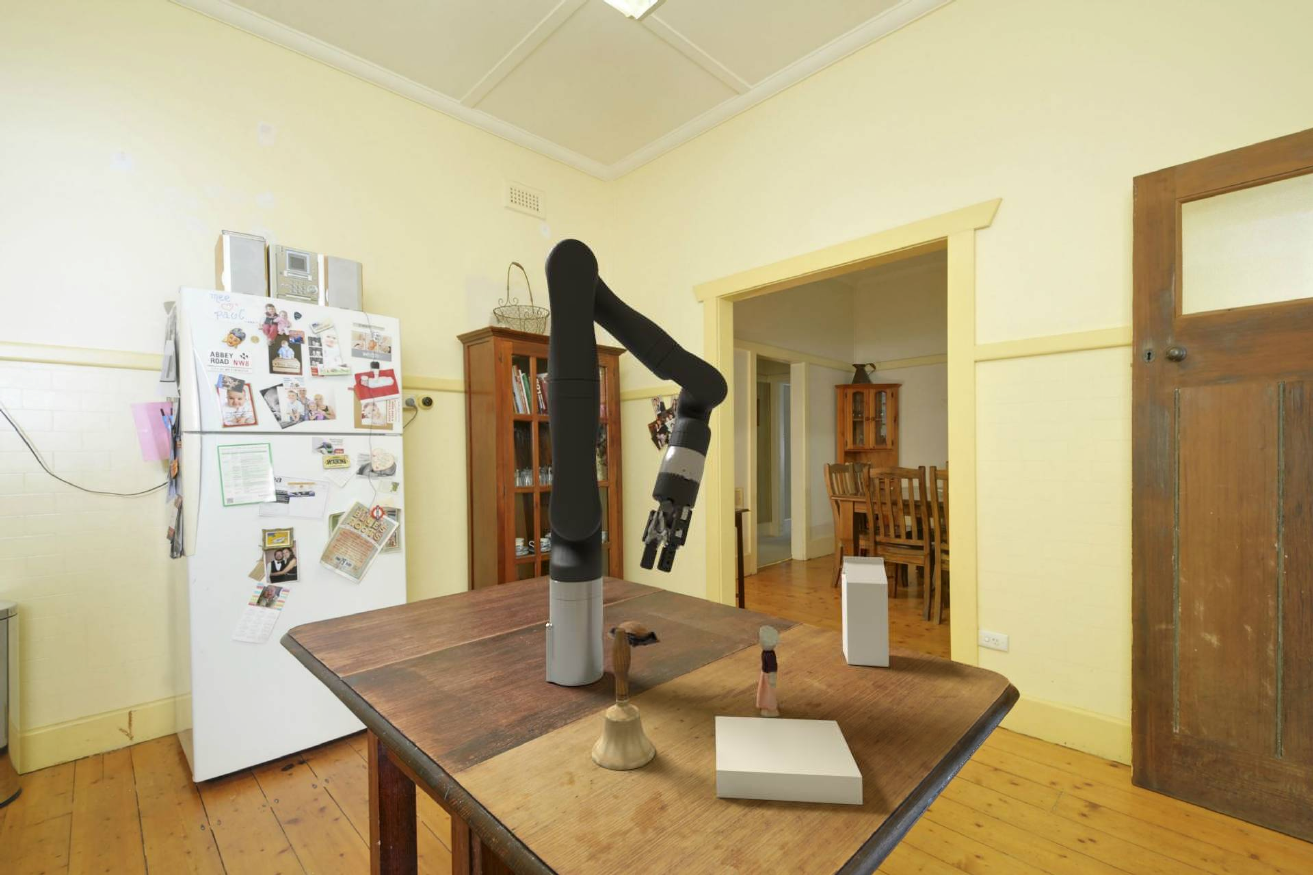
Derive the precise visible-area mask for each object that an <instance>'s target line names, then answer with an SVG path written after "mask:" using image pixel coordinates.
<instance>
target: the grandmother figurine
mask: <svg viewBox="0 0 1313 875" xmlns="http://www.w3.org/2000/svg"><path fill="white" fill-rule="evenodd" d="M758 634H759V640H758V643H759V646H760V648H761V649H762V651H761V654H760V656H761V657H760V658H761V671H760V677H759V681H758V682H759V683H758V688H757V694H756V703H755V706H756V708H758V709H761V710H760V715H761V716H762V717H763V718H775V717H776V718H777V717H779V716H780V712H779V710H778V705H777V704H778V702H777V697H776V696H777V695H776V688H777V681H778V679H777V678H778V670H779V669H778V667H779V666H778V661H777V660H778V659H777V655H776V652H775V648H776V646H777V645H780V644H781V643H782V637H781V636H780V634H779V633H778V630H776V629H775V628H774V627H771V625H763V626H761V627H760V629H759V632H758Z"/></svg>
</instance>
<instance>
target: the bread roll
mask: <svg viewBox="0 0 1313 875" xmlns="http://www.w3.org/2000/svg"><path fill="white" fill-rule="evenodd" d="M617 628H624V629H625V631H626V635H627V638H628V640H629V644H630V647H632V648H635V647H636V648H637V647H641V646H646V645H651V644H655V643H657V642H659V639H658V635H656V633H655V632H654V631H651V630H650V629H649V628H648V627H647V626H646V625H645V624H644V623H642V622H640V621H637V620H630V621H626V622H622V623H620V624H619V625H618V627H613V628H611V629H610V632H607V633H606V634H605V635H606V636H607V637H609V638H610V639H612V640H613V639H614V636H615V630H616V629H617Z"/></svg>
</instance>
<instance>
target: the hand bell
mask: <svg viewBox="0 0 1313 875" xmlns="http://www.w3.org/2000/svg"><path fill="white" fill-rule="evenodd" d="M616 628H617V629H616V630H615V636H614V639H612V643H611V647H610V648H611V649H610V650H611V651H610V657H611V658H610V659H611V665H612V669H613V672H614V677H615V704H614V705H612V706H610V707H608V708H607V709H606V712H605V718H604V724H603V729H602V733H601V735H600V738H599V739H598V740H597V741H596V742H595V743H594V745H593V746H592V749H591V751H590V754H591V759H592V761H593V762H594V763H595V764H596V765H598V766H600V767H602V768H604V769H607V770H612V771H628V770H634V769H636V768H641V767H642V766H645V765H646V764H648V763H649V762H650V761H651V760H652V759H654V758H655V754H656V748H655V745H654V744H653V742H652V740H651V739H650V738H648V737H647V735H646V733H645V732H644V731H645V730H644V728H643V725H642V719H641V713H640V712H641V711H640V710H639V708H638V707H637V706H636V705H633V704H631V703H630V697H629V696H630V695H629V683H628V677H629V676H628V675H629V672H630V668H631V661H632V659H631V658H632V657H631V656H632V651H631V646H630V644H629V640H628V638H627V635H626V631H625V629H624V628H619V627H616Z"/></svg>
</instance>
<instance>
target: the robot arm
mask: <svg viewBox="0 0 1313 875" xmlns="http://www.w3.org/2000/svg"><path fill="white" fill-rule="evenodd" d="M597 259H598V258H596V255H595V253H594V252H593V250H592V249H591V247H589V245H587V244H586V243H584V242H583V241H581V240H579V239H575V238H565V239H563V240H560V241H558V242H556V244H554V245H553V246H552V247H551V249H550V250H549V251H548V254H547V256H546V259H545V261H544V274H545V277H546V283H547V291H548V300H549V312H550V329H549V330H550V331H549V340H548V349H547V350H548V352H547V374H546V376H547V379H546V384H547V385H546V386H547V387H546V389H547V390H546V392H547V393H546V394H547V395H546V396H547V399H546V400H547V415H548V427H549V436H550V443H551V449H552V472H551V473H552V476H551V490H550V498H549V506H548V513H547V514H548V515H547V516H548V520H549V524H550V553H549V556H550V557H549V622H548V623H547V624H546V625H545V626H546V627H545V639H546V640H545V646H546V647H545V654H546V655H545V665H546V666H545V667H546V668H545V674H546V676H545V681H546V682H552V683H555V684H557V685H561V686H569V687H570V686H571V687H574V686H575V687H577V686H583V685H584V686H586V685H589V684H592V683H596V682H597V681H599V680H601V678H602V677H603V676H604V602H603V601H604V594H603V593H604V592H603V591H604V588H603V586H604V584H603V581H604V580H603V574H604V573H603V572H604V570H603V569H604V566H603V564H604V560H603V557H604V556H603V514H604V513H603V504H602V501H601V495H600V487H599V480H598V478H599V477H598V468H597V467H598V466H597V452H598V451H597V449H598V440H599V434H600V433H599V432H600V422H601V408H602V406H601V403H602V402H601V400H602V398H601V394H602V393H601V372H600V360H599V351H598V344H597V337H596V330H595V323H596V324H597V325H599V326H600V327H601V328H602V329H604V330H605V331H606V332H607V333H608V334H610V336H612V337H613V338H614V339H615V340H616V341H617V342H618V343H619V344H621V346H622V347H624V348H625V349H626V350H627V351H628V352H629V353H631V355H633V357H635V358H636V359H637V361H639V362H640V363H641V364H642V365H643V366H645V367H646V369H647V370H649V372H651V373H652V374H653V375H654V376H656V377H657V378H658V379H660V380H661V381H672V382H674V383H675V384H677V385H678V386H680V387H681V388H680V391H679V394H678V397H677V401H676V405H675V413H674V414H675V415H674V424H673V427H672V430H671V433H670V436H669V441H668V444H667V446H666V451H665V453H664V455H663V458H662V459H661V463H660V466H659V470H658V473H657V476H656V481H655V483H654V487H653V491H652V494H651V497H652V498H653V500H654V501H655V502H658V503H659V506H658V508H657V510H655V509H651V510H650V511H649V515H648V518H647V522H646V525H645V528H644V532H643V534H642V538H641V542H643V545H644V550H643V552H642V556H641V559H640V564H639V566H640V568H642V569H645V570H648V571H651V570H653V569H654V565H655V561H656V558H657V555H658V550H659V548H660V546H661V544H662V542H663V544H662V545H663V546H662V548H661V551H660V554H659V558H658V562H657V566H656V569H657V570H658V571H661V572H663V573H666V574H667V573H670V572H671V571H672V569H673V568H672V567H673V565H674V561H675V557H676V553H677V551H678V550H679V549H680V547H684V546H685V544H686V541H687V538H688V537H687V536H688V533H689V529H690V525H691V521H692V517H693V509H694V508H695V506H696V502H697V499H698V494H699V491H700V487H701V483H702V480H703V476H704V472H705V471H704V470H705V463H706V459H707V454H708V450H709V447H710V444H711V438H712V430H711V427H710V426H709V425H710V419H711V415H712V412H713V410H714V409H715V408H716V407H718V406H719V405H721V404H722V403H723V402H724V401H725V400H726V398H727V396H728V391H729V386H728V383H727V381H726V378H725V376H723V374H722V373H721V372H720V371H719V369H717V368H716V367H715V366H713V365H712V364H711V363H709V362H708V361H706V360H704V359H702V357H699V356H697V355H696V354H694V353H692V352H690V351H688V350H687V349H685V348H684V347H683V346H682V345H680V344H679V343H678V341H676V340H675V339H674V338H673V337H672V336H671V335H670V334H669V333H667V331H665V330H664V329H663V328H662V327H661V326H659V324H657V323H656V322H654V321H653V320H651V319H650V318H648V317H647V316H645V315H644V314H642V313H640V312H639V311H637V310H635V309H634V308H632V307H631V306H630V305H629V304H627V303H625V301H623V300H622V299H621V298H620V297H618V296H617V295H616V294H615V293H614V291H612V289H611V288H610V287H609V286H608V285H607V284H606V283H605V281H604V279H602V277H601V276H600V275H599V263H598V260H597Z"/></svg>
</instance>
